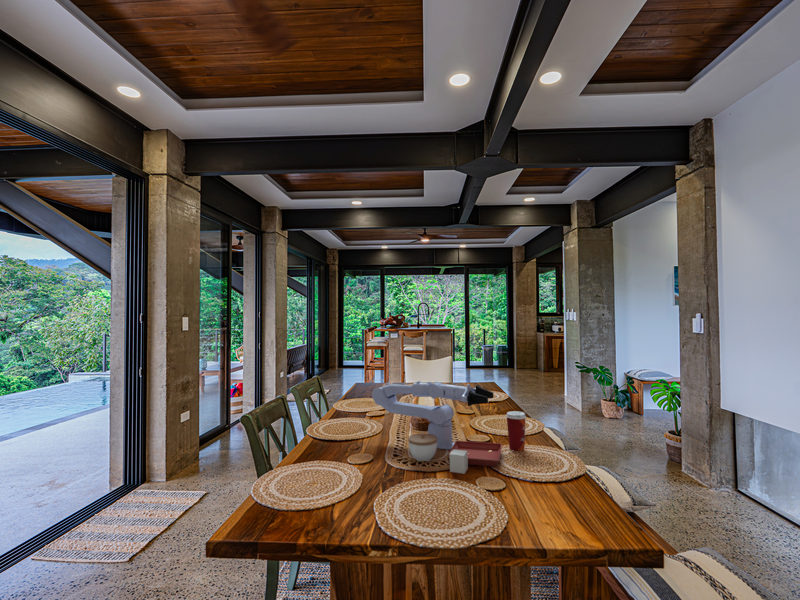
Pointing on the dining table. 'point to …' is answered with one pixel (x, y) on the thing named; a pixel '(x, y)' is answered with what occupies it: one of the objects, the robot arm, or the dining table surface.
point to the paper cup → (516, 430)
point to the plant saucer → (480, 452)
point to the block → (458, 461)
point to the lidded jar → (422, 446)
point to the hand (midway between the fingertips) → (490, 397)
